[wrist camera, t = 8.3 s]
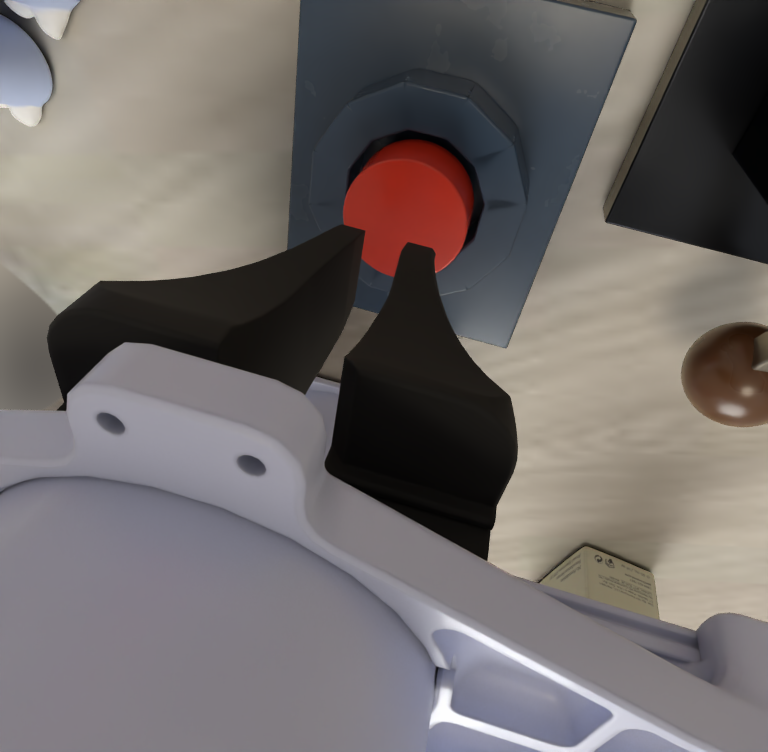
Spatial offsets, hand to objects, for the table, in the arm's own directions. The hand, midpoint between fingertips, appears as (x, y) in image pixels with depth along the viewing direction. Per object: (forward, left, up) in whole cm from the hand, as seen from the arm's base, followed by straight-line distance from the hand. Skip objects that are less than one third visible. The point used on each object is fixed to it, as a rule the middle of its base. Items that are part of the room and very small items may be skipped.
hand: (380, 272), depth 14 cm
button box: (0, 0, -8) cm, 8 cm away
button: (0, 0, -5) cm, 5 cm away
